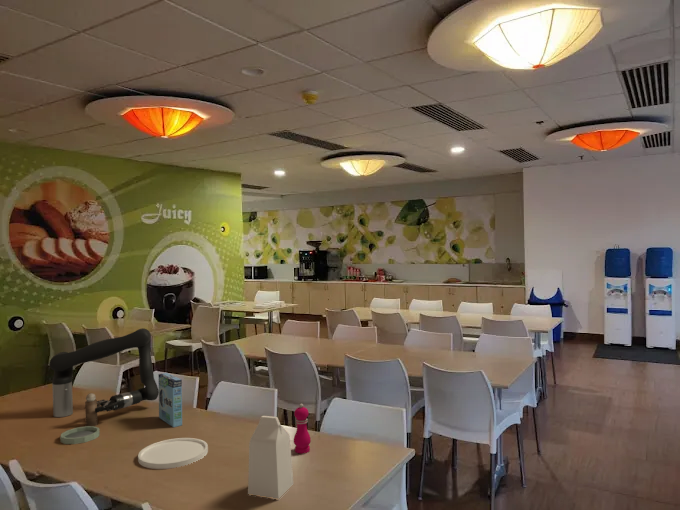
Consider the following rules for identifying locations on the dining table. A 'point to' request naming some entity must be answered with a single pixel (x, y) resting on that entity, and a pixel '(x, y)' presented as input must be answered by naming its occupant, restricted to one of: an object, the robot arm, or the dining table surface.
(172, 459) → the plate
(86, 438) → the round tray
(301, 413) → the pepper mill
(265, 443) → the milk
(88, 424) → the wooden peg figure
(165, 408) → the light blue cardboard box
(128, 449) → the dining table surface
